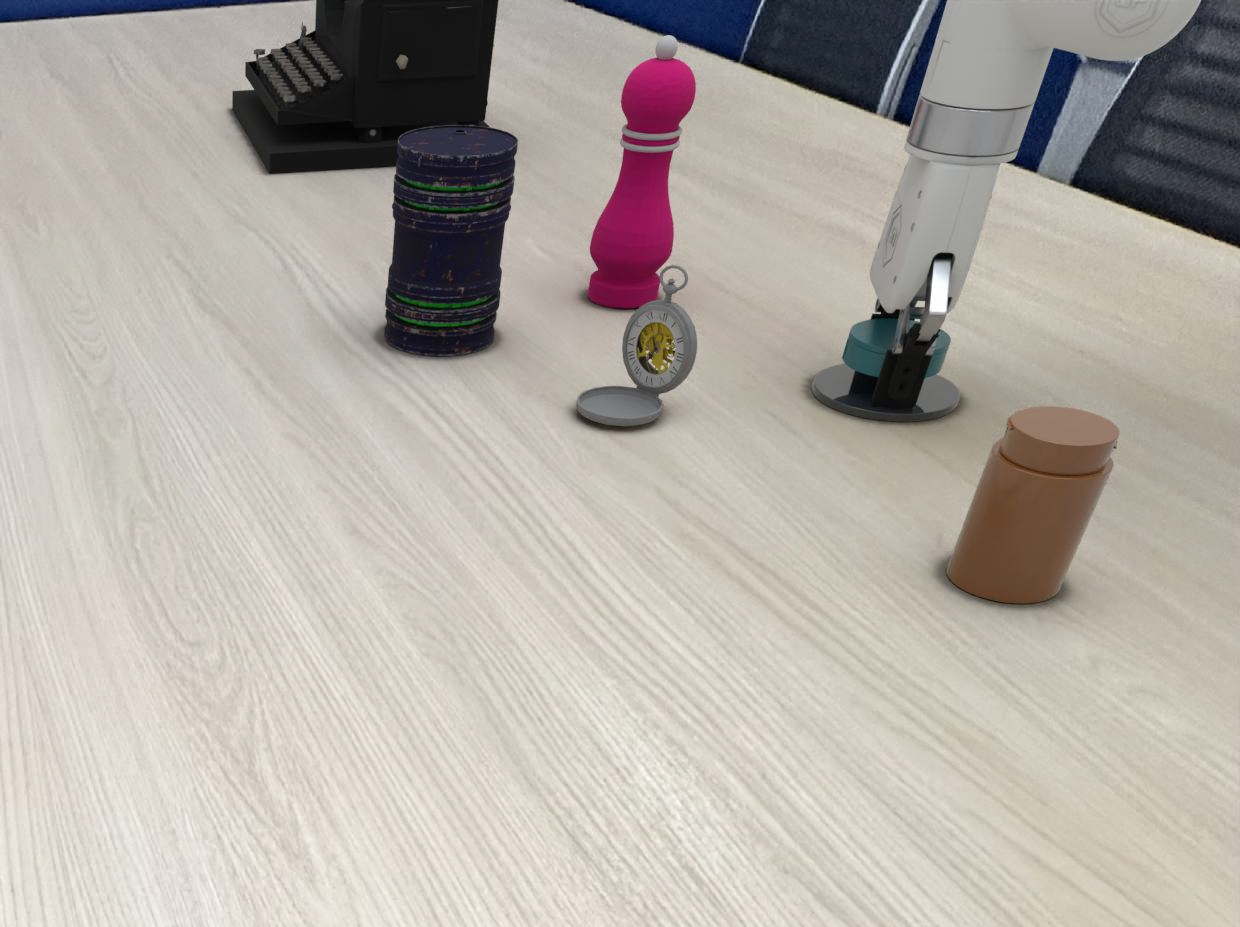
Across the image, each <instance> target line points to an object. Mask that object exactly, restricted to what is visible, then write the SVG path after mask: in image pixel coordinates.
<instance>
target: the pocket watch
mask: <svg viewBox="0 0 1240 927" xmlns="http://www.w3.org/2000/svg"><path fill="white" fill-rule="evenodd" d="M671 269H675V270H676V269H677V270H679V271H680V272H681V273H682V275H683V276H684V281H683V283H682V284H681V285H679V286H678V287H677V285H676V284H675V283H676V280H675V279H674V278H670V279H668V280H667V283H665V281H664V274H665V273H666V272H667V271H668V270H671ZM659 279H660V285H661V287H662V291H663V292H664V293H665V295H664V299H656V301H651V302H648V303H646V304H644V305H643V306H641V307H639V308H637V309H636V311H634V312H632V314H631V316H630V318H629V320H628V322H627V323H626V326H625V330H624V332H623V337H622V346H621V350H622V351H621V352H622V360H623V361H622V362H623V364H624V366H625V369H626V373H627V374H628V376H629V378H630V380H631V381H632V382H633V384H634V385H635V386H636V387H632V386H624V385H604V386H597V387H592V388H589V389H586V390H583V391H582V392H580V393H579V395H577V398H576V402H575V407H576V409H577V411H578V412H579V414H580V415H581V416H582V417H584V418H585V419H588V420H590V421H592V422H596V423H599V424H602V425H606V426H616V427H632V426H633V427H634V426H639V425H640V426H641V425H645V424H649V423H652V422H653V421H655V420H657V419H659V417H661V414H662V413H663V411H664V401H663V400H662V399H661V398H660V395H662V394H666V393H669V392H671V391H673V390H675V389H676V388H678V387H679V386H681V385H682V383H683V382H684V381H685V380H686V379H687V378H688V376H689V375H690V373H691V371H692V370H693V368H694V365H695V362H696V358H697V354H698V335H697V332H696V327H695V325H694V322H693V320H692V318H691V316H690V314H689V313H688V312H687V311H686V310H685V309H684V308H683V307H682V306H681V305H679V304H678V303H676V302H674V301H672V297H673V295H675V294H676V293H677V292H678V291H681V290H683V289H685V287H686V286H687V285H688V282H689V274H688V273H687V271H686V269H685V268H683V267H682V266H680V265H678V264H677V265H675V264H672V265H667V266H665V267H664V268H662V270H661V271H660V273H659ZM674 349H675V350H674ZM646 351H648V352H646ZM670 358H673V360H672V359H670ZM649 360H651V363H650V361H649ZM664 361H665V362H664ZM668 363H669V365H668ZM661 367H664V368H661Z"/></svg>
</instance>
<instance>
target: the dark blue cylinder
mask: <svg viewBox="0 0 1240 927" xmlns="http://www.w3.org/2000/svg"><path fill="white" fill-rule="evenodd" d="M489 127H490V126H489ZM489 127H482V126H470V125H443V126H432V127H425V128H420V129H416V130H412V131H409V132H406V133H404V134H402V135H401V136H400V137H399V138H398V147H397V153H398V154H399V157H398V158H397V161H396V166H395V174H394V177H393V188H392V189H393V190H392V192H393V194H394V195H393V201H392V202H393V203H392V204H391V209H392V218H393V220H394V228H393V244H392V257H391V264H390V265H389V267H388V273H387V274H388V275H387V287H386V289H385V298H384V306H385V316H384V317H385V320H386V324H385V326H384V329H383V338H384V341H385V342H386V343H387V345H389V346H391V347H392V348H395V349H397V350H400V351H402V352H405V353H409V354H414V355H420V356H428V357H454V356H462V355H463V356H464V355H469V354H473V353H476V352H480V351H482V350H484V349H486V348H488V347H489V346H490V345H492V343H493V342H494V339H495V334H496V332H495V327H494V326H495V323H496V321H497V316H498V313H497V311H498V310H499V308H500V302H501V294H502V293H501V289H500V288H501V283H502V276H503V269H502V267H501V261H502V253H503V245H504V236H505V230H506V229H505V228H506V223H507V221H508V220H509V217H510V212H511V210H512V204H511V203H512V196H513V193H514V187H515V180H516V178H515V175H514V174H515V170H516V159H515V156H516V155H517V154H518V145H519V139H518V137H517V136H516V135H514V134H513V133H510V132H509V131H506V130H502V129H498V128H494V127H490V128H489Z"/></svg>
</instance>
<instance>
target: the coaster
mask: <svg viewBox="0 0 1240 927" xmlns="http://www.w3.org/2000/svg"><path fill="white" fill-rule="evenodd" d="M877 381H878V377H874V376H869V375H866V374H863V373H860V372H858V371H855V370H853V369H852V368H850V367H848V366H847V365H846V364H845V363H840V364H836V365H832V366H829V367H826V368H824V369H822V370H820V371H819V372H818V373H816V375H815V376H814V378H813V381H812V383H811V384H812V385H811V391H812V394H813V396H814V397H815V398H816V399H817V400H818V401H820V403H822V404H824V405H825V406H827V407H829V408H831V409H833V410H835V411H838V412H842V413H843V414H846V415H851V416H855V417H859V418H863V419H869V420H876V421H883V422H898V423H899V422H900V423H901V422H902V423H903V422H909V423H910V422H919V421H920V422H921V421H928V420H934V419H938V418H942V417H944V416H946V415H949V414H950V413H952V412H953V411H954V410H955V409H956V408H957V407H958V405H959V401H960V399H961V393H960V392H961V391H960V389H959V388H958V386H956V385H955V383H953V382H952V381H950V380H949V379H947V378H945V377H944V376H941V375H939V374H938V373H937V374H936V375H934V376H931V377H928V378H925V379H924V382H923V385H922V388H921V391H920V394H919V397H918V400H917V402H916V405H915V406H914V407H912V408H894V407H876V406H874V405H873V403H872V397H873V393H874V390H875V387H876V384H877Z"/></svg>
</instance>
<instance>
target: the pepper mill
mask: <svg viewBox="0 0 1240 927" xmlns="http://www.w3.org/2000/svg"><path fill="white" fill-rule="evenodd" d="M678 49H679V43H678V39H677V38H676V37H675V36H673V35H669V34H667V35H664V36H662V37H661V38H659V40H658V41H657V42H656V45H655V51H654V52H655V56H656V57H653V58H649V59H647V60H645V61H643V62H641V63H639V64H637V66H635V67H634V68H633V69H632V71H630V73H629V75H628V76H627V78H626V80H625V81H624V82H625V83H624V85H623V88H622V92H621V95H620V96H621V98H620V107H621V111H622V113H623V115H624V116H625V119H626V121H627V123H625V124H624V125H623V126H622V128H621V133H622V134H621V138H620V139H619V145H620V146H621V148H623V150H622V151H623V152H622V158H621V159H622V160H621V165H620V170H619V174H618V179H617V182H616V184H615V187H614V189H613V192H612V193H611V195H610V198H609V200H608V201H607V203H606V205H605V207H604V209H603V210H602V212H601V214H600V216H599V218H598V219H597V221H596V224H595V227H594V229H593V231H592V234H591V240H590V244H589V254H590V257H591V259H592V261H593V263H594V265H595V267H596V268H597V270H595V271H593V273H591V274H590V277H589V283H588V290H587V297H588V299H589V300H590V301H591V302H593V304H594V303H595V304H597V305H599V306H603V307H606V308H615V309H624V310H625V309H639V308H640V307H641V306H643V305H644V304H646V303H648V302H651V301H656V300H658V295H659V291H660V285H661V283H660V279H659V276H660V274H657V272H658V271H659V270H660V269H661V268H662V267H663V266H664V265H665V264H666V263H667V262H668V260H669V259H670V257H671V256H672V252H673V247H674V240H675V239H674V238H675V232H674V231H675V229H674V219H673V214H672V208H671V207H672V206H671V203H670V194H669V175H670V167H671V162H672V159H673V154H674V150H676V149H677V148H679V147H680V145H681V141H680V138H681V137H680V136H681V135H682V134H683V128H682V127H681V126H680V123H681V122H682V121H683V119H685V117H687V115H688V114H689V112H690V111H691V109H692V107H693V105H694V102H695V99H696V93H697V92H696V91H697V83H696V78H695V74H694V72H693V69H691V67H690V66H689V65H688V64H687V63H686V62H684V61H682V60H680V59H677V58H674V57H675V56H676V54H677V52H678Z"/></svg>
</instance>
